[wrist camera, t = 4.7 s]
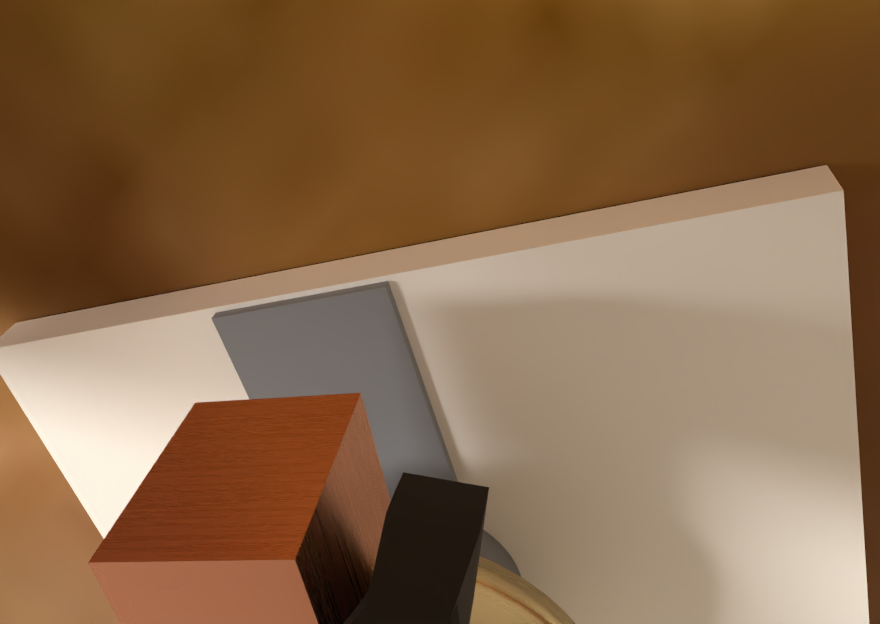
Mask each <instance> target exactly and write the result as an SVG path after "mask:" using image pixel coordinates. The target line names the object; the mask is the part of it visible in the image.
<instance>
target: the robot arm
mask: <svg viewBox="0 0 880 624" xmlns="http://www.w3.org/2000/svg"><path fill="white" fill-rule="evenodd" d="M488 491H489V487H485V486H479V485H473V484H468V483H462V482H456V481H450V480H445V479H439V478H433V477H427V476H422V475H416V474H410V473H405V472H403V474H402V476H401V479H400V481H399V483H398V485H397V488H396V490H395V492H394V495H393V497H392V500H391V502H390V505H389V507H388V510H387V512H386V516H385V520H384V525H383V529H382V534H381V538H380V543H379V547H378V552H377V557H376V561H375V566H374V570H373V575H372V580H371V584H370V589H369V591H368V592H367V593H366V595H365V596H364V598H363V599H362V600H361V602H360V603H359V604H358V606H357V607H356V608H355V610H354V611H353V612H352V614H351V615H350V616H349V617H348V619H347V620H346V621H345V622H344V624H469V623H470V617H471V611H472V605H473V599H474V593H475V585H476V578H477V571H478V564H479V556H480V549H481V542H482V535H483V528H484V520H485V513H486V506H487V499H488Z"/></svg>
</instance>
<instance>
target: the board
mask: <svg viewBox="0 0 880 624" xmlns="http://www.w3.org/2000/svg"><path fill="white" fill-rule="evenodd" d="M0 375H1V376H2V378H3V379H4V381H5V382H6V384H7V386H8V387H9V389H10V390H11V392H12V394H13V395H14V397H15V398H16V400H17V402H18V403H19V405H20V406H21V408H22V410H23V411H24V413H25V414H26V416H27V417H28V419H29V421H30V422H31V424H32V425H33V427H34V429H35V430H36V432H37V433H38V435H39V437H40V438H41V440H42V441H43V443H44V444H45V446H46V448H47V449H48V451H49V452H50V454H51V456H52V457H53V459H54V460H55V462H56V464H57V465H58V467H59V468H60V470H61V472H62V473H63V475H64V476H65V478H66V479H67V481H68V483H69V484H70V486H71V487H72V489H73V491H74V492H75V494H76V495H77V497H78V499H79V500H80V502H81V503H82V505H83V506H84V508H85V510H86V511H87V513H88V514H89V516H90V518H91V519H92V521H93V522H94V524H95V526H96V527H97V529H98V530H99V532H100V534H101V535H102V537H103V538H105V537H106V535H107V534H108V532H109V531H110V529H111V528H112V526H113V525H114V523H115V522H116V520H117V519H118V517H119V516H120V514H121V513H122V511H123V510H124V508H125V507H126V505H127V504H128V502H129V501H130V499H131V498H132V496H133V495H134V493H135V492H136V490H137V489H138V487H139V486H140V484H141V483H142V481H143V480H144V478H145V477H146V475H147V474H148V472H149V471H150V469H151V468H152V466H153V465H154V463H155V462H156V460H157V459H158V457H159V456H160V454H161V453H162V451H163V450H164V448H165V447H166V445H167V444H168V442H169V441H170V439H171V438H172V436H173V435H174V433H175V432H176V430H177V429H178V427H179V426H180V425H181V423H182V422H183V420H184V419H185V417H186V416H187V414H188V413H189V411H190V410H191V408H192V407H193V405H194V404H195V403H197V402H214V401H231V400H248V399H264V398H281V397H298V396H315V395H331V394H348V393H361V395H362V398H363V402H364V406H365V409H366V413H367V416H368V420H369V424H370V427H371V431H372V435H373V438H374V442H375V446H376V449H377V453H378V456H379V460H380V464H381V467H382V471H383V475H384V478H385V482H386V486H387V489H388V493H389V496H390V500H392V497H393V495H394V492H395V490H396V488H397V485H398V483H399V481H400V479H401V476H402V474H403V472H405V473H410V474H416V475H422V476H427V477H433V478H439V479H445V480H450V481H456V482H462V483H468V484H473V485H479V486H485V487H489V491H488V499H487V506H486V513H485V520H484V528H483V535H482V542H481V549H480V556H481V557H483V558H486V559H488V560H490V561H493V562H495V563H497V564H499V565H500V566H502V567H504V568H506V569H508V570H509V571H511V572H513V573H515V574H517V575H519V576H520V577H522V578H523V579H525V580H526V581H528V582H529V583H531V584H532V585H533V586H535V587H536V588H538V589H539V590H541V591H542V592H543V593H545V594H546V595H547V596H548V597H549V598H550V599H552V600H553V601H554V602H555V603H556V604H557V605H558V606H559V607H561V608H562V609H563V610H564V611H565V612H566V613H567V614H568V616H569V617H570V618H571V619H572V620H573V621H574V622H575V624H869V609H868V592H867V575H866V559H865V542H864V525H863V508H862V491H861V474H860V457H859V441H858V424H857V407H856V390H855V373H854V356H853V339H852V323H851V306H850V289H849V272H848V255H847V238H846V222H845V205H844V190H843V189H842V187H841V186H840V184H839V183H838V181H837V180H836V178H835V177H834V175H833V174H832V172H831V170H830V169H829V167H828V166H827V165H824V166H819V167H813V168H808V169H803V170H798V171H793V172H788V173H783V174H777V175H772V176H767V177H762V178H757V179H752V180H747V181H741V182H736V183H731V184H726V185H721V186H716V187H711V188H705V189H700V190H695V191H690V192H685V193H680V194H675V195H670V196H664V197H659V198H654V199H649V200H644V201H639V202H634V203H628V204H623V205H618V206H613V207H608V208H603V209H598V210H592V211H587V212H582V213H577V214H572V215H567V216H562V217H556V218H551V219H546V220H541V221H536V222H531V223H526V224H520V225H515V226H510V227H505V228H500V229H495V230H490V231H484V232H479V233H474V234H469V235H464V236H459V237H454V238H449V239H443V240H438V241H433V242H428V243H423V244H418V245H413V246H407V247H402V248H397V249H392V250H387V251H382V252H377V253H371V254H366V255H361V256H356V257H351V258H346V259H341V260H335V261H330V262H325V263H320V264H315V265H310V266H305V267H299V268H294V269H289V270H284V271H279V272H274V273H269V274H263V275H258V276H253V277H248V278H243V279H238V280H233V281H228V282H222V283H217V284H212V285H207V286H202V287H197V288H192V289H186V290H181V291H176V292H171V293H166V294H161V295H156V296H150V297H145V298H140V299H135V300H130V301H125V302H120V303H114V304H109V305H104V306H99V307H94V308H89V309H84V310H78V311H73V312H68V313H63V314H58V315H53V316H48V317H42V318H37V319H32V320H27V321H22V322H17V323H15V324H14V325H13V326H12V327H11V328H9V329H8V330H7V331H6V332H5V333H4V334H3V335H2V336H0Z"/></svg>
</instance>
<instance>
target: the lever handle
mask: <svg viewBox="0 0 880 624" xmlns="http://www.w3.org/2000/svg"><path fill="white" fill-rule="evenodd" d="M390 502H391V500H390V496H389V493H388V489H387V486H386V482H385V478H384V475H383V471H382V467H381V464H380V460H379V456H378V453H377V449H376V446H375V442H374V438H373V435H372V431H371V427H370V424H369V420H368V416H367V413H366V409H365V406H364V402H363V398H362V395H361V393H348V394H331V395H315V396H298V397H281V398H264V399H248V400H231V401H214V402H197V403H195V404H194V405H193V407H192V408H191V410H190V411H189V413H188V414H187V416H186V417H185V419H184V420H183V422H182V423H181V425H180V426H179V427H178V429H177V430H176V432H175V433H174V435H173V436H172V438H171V439H170V441H169V442H168V444H167V445H166V447H165V448H164V450H163V451H162V453H161V454H160V456H159V457H158V459H157V460H156V462H155V463H154V465H153V466H152V468H151V469H150V471H149V472H148V474H147V475H146V477H145V478H144V480H143V481H142V483H141V484H140V486H139V487H138V489H137V490H136V492H135V493H134V495H133V496H132V498H131V499H130V501H129V502H128V504H127V505H126V507H125V508H124V510H123V511H122V513H121V514H120V516H119V517H118V519H117V520H116V522H115V523H114V525H113V526H112V528H111V529H110V531H109V532H108V534H107V535H106V537H105V538H104V540H103V541H102V543H101V544H100V546H99V547H98V549H97V550H96V552H95V553H94V555H93V556H92V558H91V559H90V561H89V562H88V563H89V565H90V567H91V569H92V571H93V572H94V574H95V576H96V578H97V580H98V582H99V584H100V586H101V588H102V589H103V591H104V593H105V595H106V597H107V599H108V601H109V603H110V605H111V606H112V608H113V610H114V612H115V614H116V616H117V618H118V620H119V621H120V623H121V624H344V622H345V621H346V620H347V619H348V617H349V616H350V615H351V614H352V612H353V611H354V610H355V608H356V607H357V606H358V604H359V603H360V602H361V600H362V599H363V598H364V596H365V595H366V593H367V592H368V591H369V589H370V584H371V580H372V575H373V570H374V566H375V561H376V557H377V552H378V547H379V543H380V538H381V534H382V529H383V525H384V520H385V516H386V512H387V510H388V507H389V505H390ZM469 624H575V622H574V621H573V620H572V619H571V618H570V617H569V616H568V614H567V613H566V612H565V611H564V610H563V609H562V608H561V607H559V606H558V605H557V604H556V603H555V602H554V601H553V600H552V599H550V598H549V597H548V596H547V595H546V594H545V593H543V592H542V591H541V590H539V589H538V588H536V587H535V586H533V585H532V584H531V583H529V582H528V581H526V580H525V579H523V578H522V577H520V576H519V575H517V574H515V573H513V572H511V571H509V570H508V569H506V568H504V567H502V566H500V565H499V564H497V563H495V562H493V561H490V560H488V559H486V558H483V557H481V556H479V564H478V571H477V578H476V585H475V593H474V599H473V605H472V611H471V617H470V623H469Z"/></svg>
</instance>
